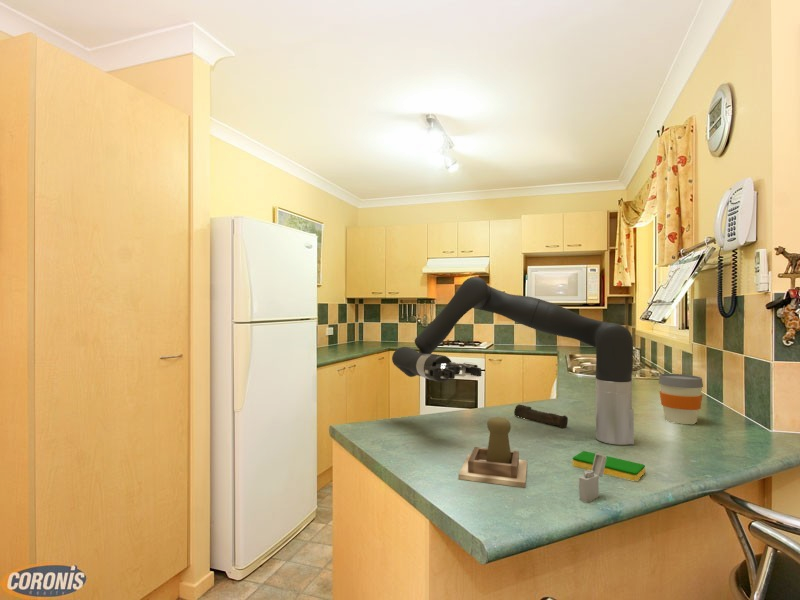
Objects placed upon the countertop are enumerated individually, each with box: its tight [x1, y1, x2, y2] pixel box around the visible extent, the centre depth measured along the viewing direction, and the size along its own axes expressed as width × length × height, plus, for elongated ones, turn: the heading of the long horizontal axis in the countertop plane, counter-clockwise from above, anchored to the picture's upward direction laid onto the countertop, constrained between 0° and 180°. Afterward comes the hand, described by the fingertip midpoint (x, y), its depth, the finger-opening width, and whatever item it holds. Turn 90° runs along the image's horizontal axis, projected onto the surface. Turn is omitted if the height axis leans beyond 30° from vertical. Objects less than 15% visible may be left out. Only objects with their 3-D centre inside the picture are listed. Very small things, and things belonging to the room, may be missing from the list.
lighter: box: [578, 452, 607, 503], centre depth 85 cm, size 7×2×8 cm, turn 124°
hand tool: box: [513, 404, 569, 429], centre depth 143 cm, size 19×4×5 cm, turn 38°
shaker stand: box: [458, 446, 528, 488], centre depth 98 cm, size 14×14×4 cm
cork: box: [486, 416, 512, 464], centre depth 99 cm, size 6×6×11 cm
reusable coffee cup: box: [658, 373, 704, 425], centre depth 144 cm, size 13×13×15 cm
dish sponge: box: [572, 450, 646, 482], centre depth 100 cm, size 7×14×2 cm, turn 46°
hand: (467, 373), depth 111 cm, fingers open, 8 cm apart
